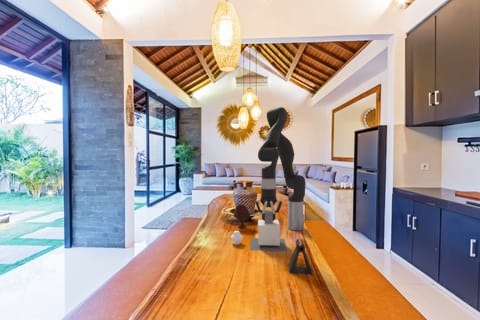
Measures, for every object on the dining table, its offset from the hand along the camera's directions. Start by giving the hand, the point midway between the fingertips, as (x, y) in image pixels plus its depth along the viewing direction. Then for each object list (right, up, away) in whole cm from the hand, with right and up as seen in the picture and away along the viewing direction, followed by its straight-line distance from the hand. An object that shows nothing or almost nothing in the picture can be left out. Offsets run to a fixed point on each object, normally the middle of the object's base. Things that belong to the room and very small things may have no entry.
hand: (268, 220), depth 137 cm
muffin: (-16, -13, +2) cm, 21 cm away
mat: (0, -13, +1) cm, 13 cm away
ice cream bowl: (-13, -12, +31) cm, 36 cm away
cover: (0, -11, 0) cm, 11 cm away
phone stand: (+10, -14, -28) cm, 33 cm away
